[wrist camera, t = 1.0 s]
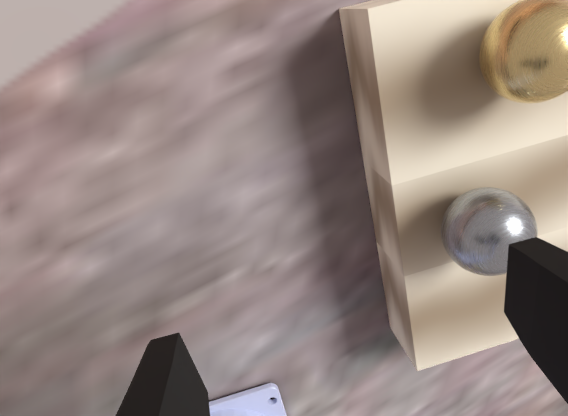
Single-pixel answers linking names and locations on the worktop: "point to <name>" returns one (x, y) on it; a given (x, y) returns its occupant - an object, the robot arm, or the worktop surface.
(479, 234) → the steel ball
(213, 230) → the worktop surface
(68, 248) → the worktop surface
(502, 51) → the brass ball
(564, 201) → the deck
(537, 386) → the worktop surface
